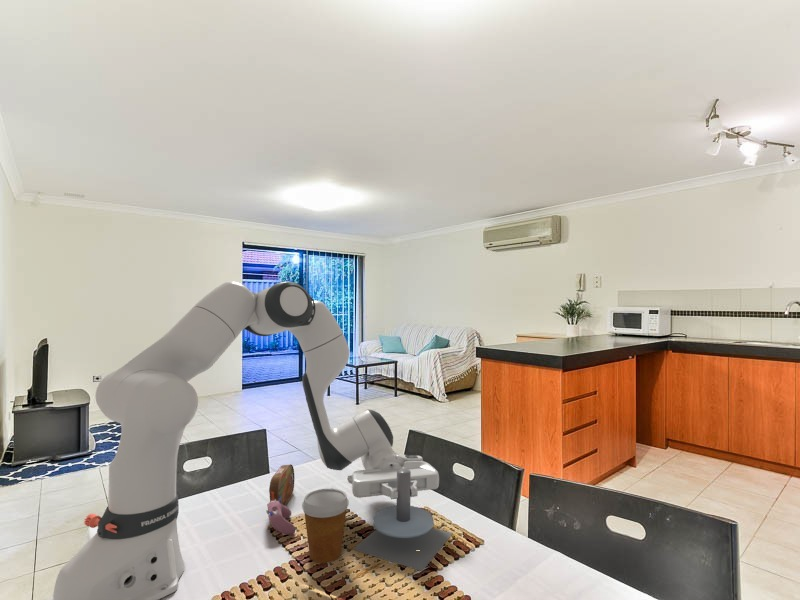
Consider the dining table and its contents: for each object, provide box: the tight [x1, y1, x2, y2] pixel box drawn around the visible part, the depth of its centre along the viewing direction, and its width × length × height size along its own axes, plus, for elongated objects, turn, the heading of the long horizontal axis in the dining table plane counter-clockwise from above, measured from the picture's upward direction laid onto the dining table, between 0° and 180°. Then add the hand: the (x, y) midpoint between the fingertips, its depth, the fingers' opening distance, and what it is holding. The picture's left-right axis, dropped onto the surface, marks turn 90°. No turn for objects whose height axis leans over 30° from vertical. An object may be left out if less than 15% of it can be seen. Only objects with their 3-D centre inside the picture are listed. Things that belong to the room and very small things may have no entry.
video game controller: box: [265, 499, 296, 536], centre depth 101 cm, size 10×5×7 cm, turn 20°
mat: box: [352, 527, 454, 572], centre depth 93 cm, size 16×16×1 cm
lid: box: [372, 469, 435, 538], centre depth 93 cm, size 13×13×11 cm
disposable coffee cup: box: [301, 488, 350, 564], centre depth 89 cm, size 10×10×12 cm
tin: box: [268, 464, 295, 507], centre depth 114 cm, size 15×3×8 cm, turn 179°
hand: (404, 494), depth 93 cm, fingers closed on lid, 3 cm apart
